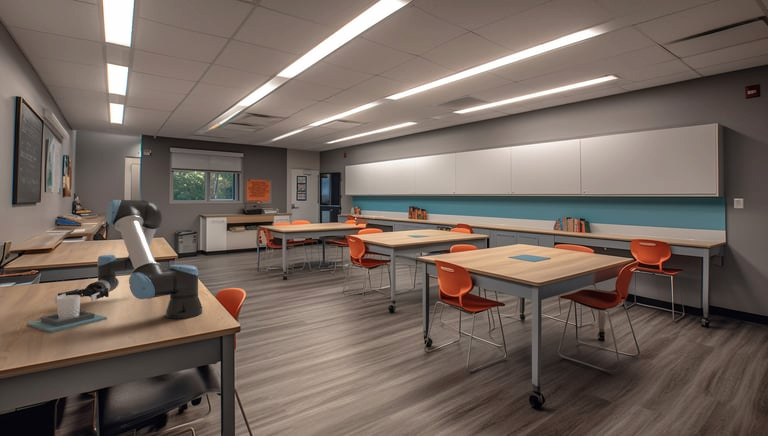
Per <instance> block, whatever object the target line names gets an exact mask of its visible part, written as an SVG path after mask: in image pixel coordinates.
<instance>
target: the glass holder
mask: <svg viewBox="0 0 768 436" xmlns="http://www.w3.org/2000/svg"><path fill="white" fill-rule="evenodd" d="M106 320H108V317H107V316H104V315H100V314H96V313H94V312H89V311H87V310H82V309H81V310H80V312H79V316H78V317H73V318H69V319H64V320H60V321H59V317H58V313H55V314H49V315H46V316H41V317H40V320H34V321H31V322H27V323H26V326H28V325H29V326H28V327H31V326H32V327H31V328H34V327H35V329H37V328H38V329H37V330H41V331H45V332H48V333H51V334H52V333H56V332H61V331H64V330H68V329H73V328H76V327H77V328H78V327H81V326H84V325H89V324H93V323H97V322H101V321H106Z"/></svg>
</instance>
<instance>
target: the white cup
mask: <svg viewBox="0 0 768 436" xmlns="http://www.w3.org/2000/svg"><path fill="white" fill-rule="evenodd" d="M80 309H81V297H80V295H67V296H62V297H58V298H57V303H56V310H57V314H58V317H59V321H60V320H64V319H69V318H73V317H78V316H79V312H80Z"/></svg>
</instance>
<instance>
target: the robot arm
mask: <svg viewBox="0 0 768 436" xmlns="http://www.w3.org/2000/svg"><path fill="white" fill-rule="evenodd" d="M105 212H106V214H105V219H106V223H107V224H108V225H110V226H114V229H115V230H116V231H119V232H120V233H121V234H120V235H121V237H122V239H123V241H124V245H125V248H126V251H127V253H128V256H126V257H125V256H124V257H116V255H114V254H104V255H99V256H98V258H97V264H96V266H97V280H96V281H95V282H94V281H93V282H92V283H89V284H88V285H87V286H86V287H85V288H81V289H80V288H77V289H73V290H69V291H63V292H59V293H57V296H55V298H54V300H55V301H54V302H55V304H57V298H58V297H62V296H67V295H80V298H84V297H89V298H90V302H95V301H97V300H99V299H101V298H104V297H105V298H109V293H110V292H112V291H114V290H116V288H118V286H119V284H120V283H119V282H120V281H119V279H118V278H117V275H116V273H120V272H128V271H131V275H130V276H129V278H128V284H129V290H130V293H131V294H132V295H133V296H134V297H135V298H136V299H138V300H146V299H147V300H149V299H150V300H151V299H153V298H159V297H163V296H164V297H166V296H169V300H168V301H169V302H168V304H167V308H166V310H165V317H166V318H167V319H171V320H172V319H174V320H175V319H176V320H177V319H180V320H181V319H187V318H188V317H189V318H193V317H192V316H194V317H196V315H197V316H199V315H198V314H200V313H201V314H202V313H203V306H202V303H201V301H200V297H199V270H198V269H199V268H198V267H197V266H195V265H191V264H190V265H189V264H171V265H170V266H169V268H165V269H163V267H162V264H161V263H159V262H157V261H156V259H155V257H154V254H153V251H152V249H151V246H150V245H151V243H152V241H153V238H154V236H155V233H156V232H157V229H159V228H160V227H161V226H162V222H163V213H162V211H161V209H160V208H159V206H158V205H157V204H156V203H154V202H153V201H150V200H146V199H145V200H143V199H141V200H140V199H113V200H110V201H109V202H108V204H107V207H106V211H105ZM201 314H200V315H201Z"/></svg>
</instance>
